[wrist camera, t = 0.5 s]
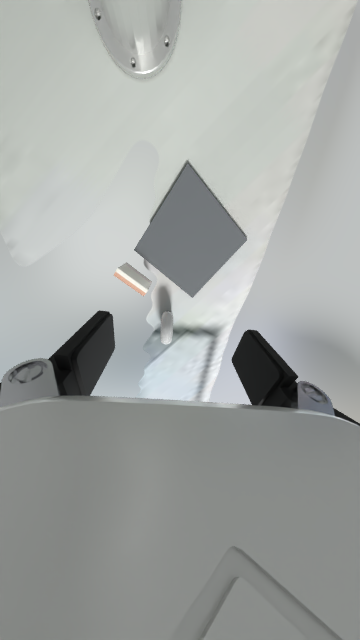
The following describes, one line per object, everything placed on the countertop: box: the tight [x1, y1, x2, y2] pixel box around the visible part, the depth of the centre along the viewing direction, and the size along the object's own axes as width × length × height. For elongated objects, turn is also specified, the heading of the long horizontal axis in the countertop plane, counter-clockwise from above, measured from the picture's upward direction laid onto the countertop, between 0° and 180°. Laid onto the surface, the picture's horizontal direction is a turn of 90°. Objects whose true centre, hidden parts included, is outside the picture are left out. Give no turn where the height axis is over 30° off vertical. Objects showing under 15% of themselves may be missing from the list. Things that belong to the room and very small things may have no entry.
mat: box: [134, 164, 247, 298], centre depth 35 cm, size 20×20×1 cm
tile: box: [114, 263, 152, 296], centre depth 36 cm, size 8×2×7 cm, turn 49°
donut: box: [161, 311, 173, 344], centre depth 42 cm, size 10×4×10 cm, turn 174°
